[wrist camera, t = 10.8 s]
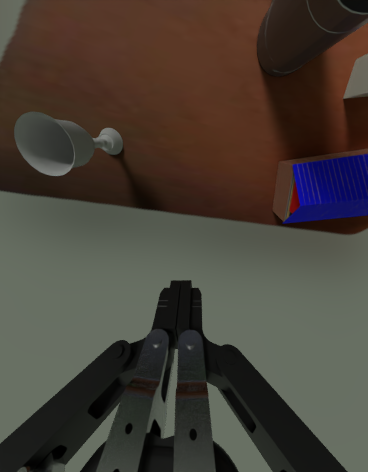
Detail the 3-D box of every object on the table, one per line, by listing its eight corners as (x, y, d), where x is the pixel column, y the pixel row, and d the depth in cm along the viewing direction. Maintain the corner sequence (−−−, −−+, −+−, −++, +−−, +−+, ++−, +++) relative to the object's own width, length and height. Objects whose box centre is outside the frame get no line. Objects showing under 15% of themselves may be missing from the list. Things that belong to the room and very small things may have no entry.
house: (276, 159, 35) (308, 169, 25) (384, 143, 32) (467, 147, 23) (270, 211, 41) (293, 235, 31) (360, 201, 39) (417, 224, 29)
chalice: (117, 116, 33) (47, 99, 18) (133, 152, 36) (86, 164, 21) (87, 131, 35) (0, 127, 19) (105, 164, 38) (43, 183, 22)
